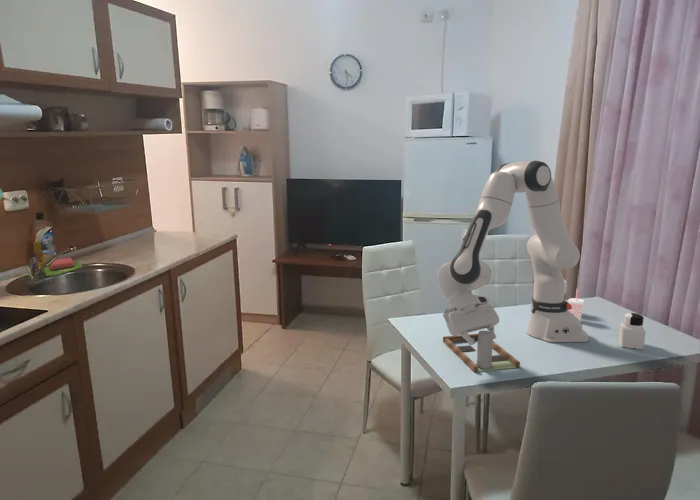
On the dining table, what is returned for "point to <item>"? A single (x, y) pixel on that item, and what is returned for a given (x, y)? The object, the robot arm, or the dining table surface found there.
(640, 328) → the medicine bottle
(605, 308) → the dining table surface
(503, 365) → the box
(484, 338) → the beverage can
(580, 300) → the beverage cup
